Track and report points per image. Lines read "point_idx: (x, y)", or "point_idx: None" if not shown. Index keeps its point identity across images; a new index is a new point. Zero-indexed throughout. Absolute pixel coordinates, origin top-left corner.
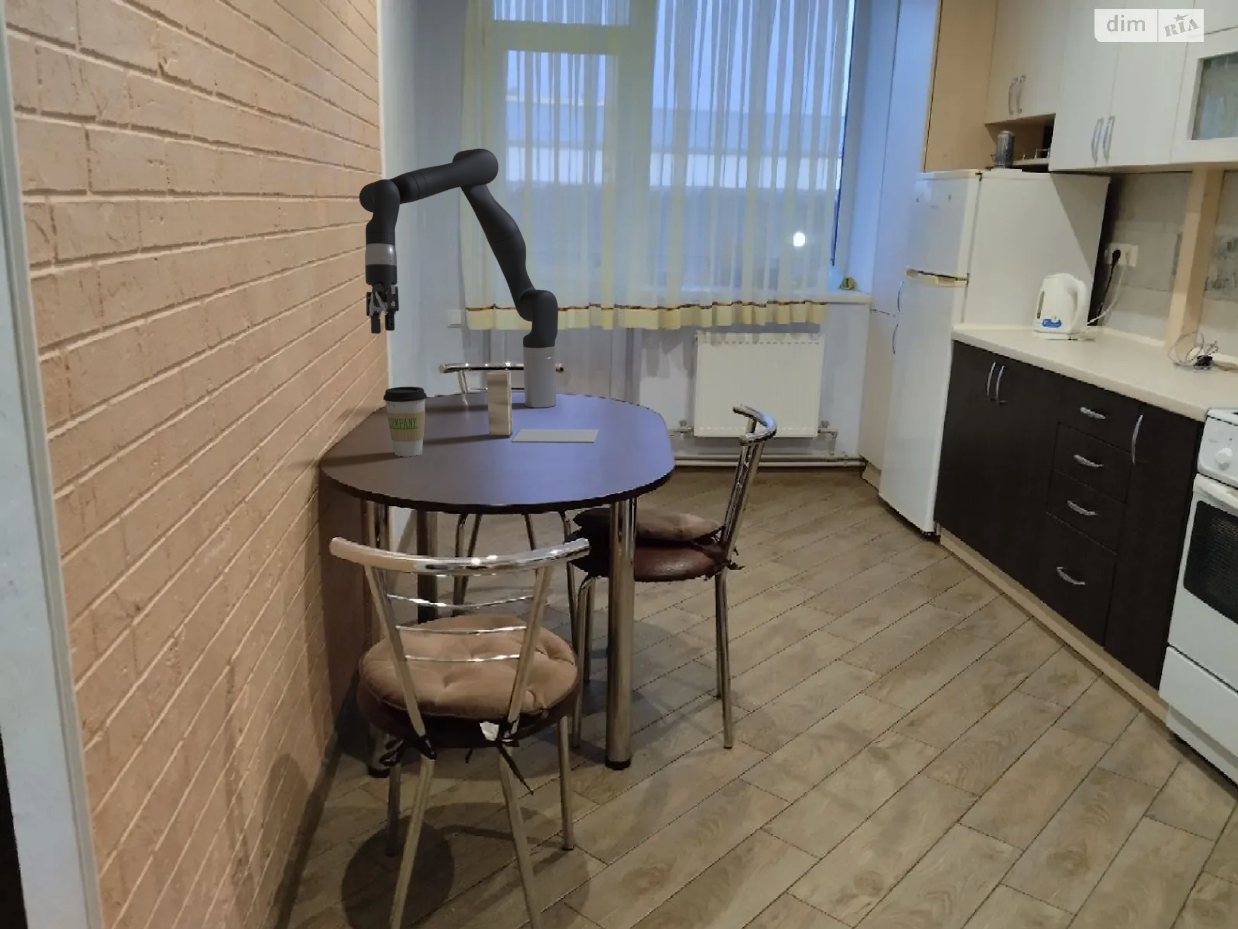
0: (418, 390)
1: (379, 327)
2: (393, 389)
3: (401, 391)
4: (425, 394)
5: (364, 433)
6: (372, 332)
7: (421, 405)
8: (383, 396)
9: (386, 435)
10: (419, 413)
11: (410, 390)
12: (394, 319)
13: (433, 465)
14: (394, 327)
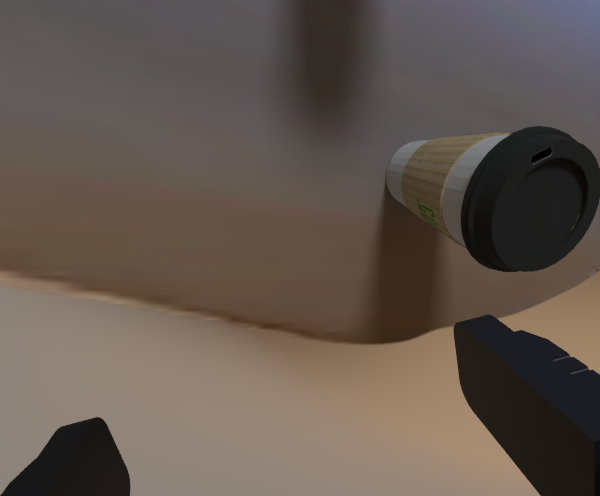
0: (589, 165)
1: (70, 475)
2: (508, 242)
3: (543, 219)
4: (565, 135)
5: (121, 250)
6: (128, 489)
7: (550, 154)
8: (506, 271)
9: (176, 192)
10: (533, 160)
11: (530, 183)
12: (580, 379)
13: None
14: (501, 325)
